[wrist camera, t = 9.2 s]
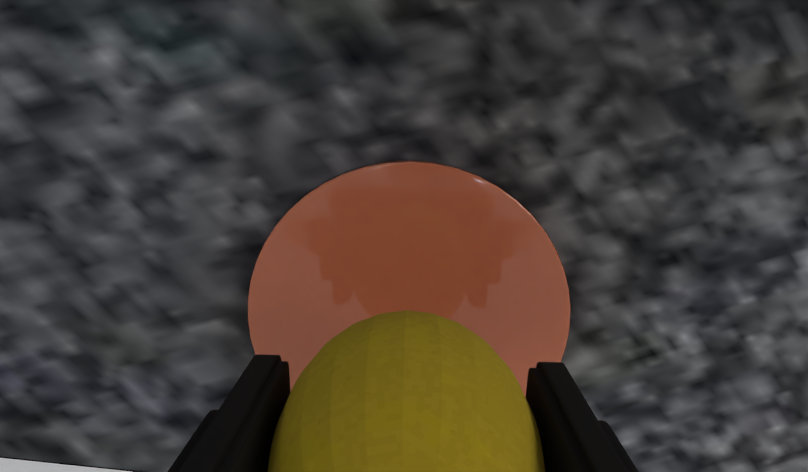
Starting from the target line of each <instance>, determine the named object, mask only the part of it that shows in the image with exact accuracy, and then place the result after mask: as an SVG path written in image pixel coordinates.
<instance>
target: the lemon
mask: <svg viewBox="0 0 808 472" xmlns="http://www.w3.org/2000/svg"><path fill="white" fill-rule="evenodd" d="M268 472H546V470H545V464H544V457H543V451H542V444H541V439H540V435H539V430H538V427H537V423H536V420H535V417H534V415H533V413H532V410H531V408H530V406H529V404H528V402H527V400H526V397H525V395H524V393H523V391H522V389H521V387H520V385H519V383H518V381H517V379H516V377H515V376H514V374H513V372H512V371H511V369H510V368H509V367H508V366H507V364H506V363H505V362H504V361H503V360H502V359H501V357H500V356H499V355H498V354H497V353H496V352H495V351H494V350H493V348H492V347H491V346H490V345H489V344H488V343H487V342H486V341H485V340H484V339H483V338H481V337H480V336H478V335H477V334H475V333H474V332H472V331H471V330H469V329H467V328H466V327H464V326H463V325H461V324H460V323H458V322H455V321H453V320H450V319H447V318H444V317H442V316H439V315H436V314H433V313H427V312H418V311H409V310H404V311H396V312H388V313H381V314H378V315H375V316H373V317H370V318H367V319H365V320H362V321H359V322H357V323H354V324H352V325H351V326H349V327H348V328H346V329H345V330H344V331H342V332H341V333H339V334H338V335H336V336H335V337H334V338H332V339H331V340H330V341H328V342H327V343H326V344H325V345H324V346H323V347H322V348H321V350H320V351H319V352H318V353H317V354H316V356H315V357H314V358H313V359H312V360H311V362H310V363H309V364H308V365H307V366H306V368H305V369H304V370H303V371H302V373H301V374H300V376H299V377H298V379H297V380H296V382H295V384H294V386H293V388H292V390H291V393H290V395H289V397H288V399H287V402H286V404H285V406H284V408H283V411H282V413H281V415H280V417H279V420H278V423H277V426H276V429H275V432H274V436H273V440H272V444H271V451H270V457H269V464H268Z"/></svg>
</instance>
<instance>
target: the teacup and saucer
mask: <svg viewBox="0 0 808 472" xmlns="http://www.w3.org/2000/svg"><path fill="white" fill-rule="evenodd" d="M0 472H131V471H122V470H112V469H103V468H93V467H84V466H74V465H64V464H55V463H45V462H36V461H26V460H17V459H7V458H0Z"/></svg>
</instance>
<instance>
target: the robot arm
mask: <svg viewBox="0 0 808 472" xmlns="http://www.w3.org/2000/svg"><path fill="white" fill-rule="evenodd" d="M290 393H291V391H290V373H289V363H288V362H287V361H282V359H281V356H280V355H261V354H257V355H255V356H254V357H253V359H252V360H251V362H250V363H249V365H248V366H247V368H246V369H245V371H244V372H243V374H242V375H241V377H240V378H239V380H238V381H237V383H236V384H235V386H234V388H233V389H232V391H231V392H230V394H229V395H228V397H227V398H226V400H225V401H224V403H223V404H222V406H221V407H220V409H219V410H212V411H210V412H209V413H208V414H207V415H206V417H205V418H204V420H203V421H202V422H201V424H200V425H199V427H198V428H197V430H196V431H195V433H194V434H193V436H192V437H191V439H190V440H189V441H188V443H187V444H186V446H185V447H184V449H183V450H182V452H181V453H180V455H179V456H178V457H177V459H176V460H175V462H174V463H173V465H172V466H171V468H170V469H169V471H168V472H268V464H269V457H270V451H271V444H272V440H273V436H274V432H275V429H276V426H277V423H278V420H279V417H280V415H281V413H282V411H283V408H284V406H285V404H286V402H287V399H288V397H289V395H290ZM526 400H527V402H528V404H529V406H530V408H531V410H532V413H533V415H534V417H535V420H536V423H537V427H538V430H539V435H540V439H541V444H542V451H543V457H544V464H545V470H546V472H638V470H637V469H636V467H635V466H634V464H633V462H632V461H631V459H630V458H629V456H628V454H627V453H626V451H625V450H624V448H623V446H622V445H621V443H620V442H619V440H618V438H617V437H616V435H615V434H614V432H613V430H612V429H611V427H610V426H609V425H608V424H607V422H605V421H598V420H597V418H596V417H595V415H594V413H593V412H592V410H591V408H590V407H589V405H588V403H587V402H586V400H585V398H584V397H583V395H582V393H581V392H580V390H579V388H578V387H577V385H576V383H575V382H574V380H573V378H572V377H571V375H570V373H569V372H568V370H567V368H566V367H565V365H564V364H563V363H562V362H538V363H537V365H536V368H529V371H528V378H527V388H526Z"/></svg>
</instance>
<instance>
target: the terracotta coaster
mask: <svg viewBox="0 0 808 472" xmlns="http://www.w3.org/2000/svg"><path fill="white" fill-rule="evenodd" d="M570 309H571V308H570V297H569V288H568V283H567V279H566V275H565V271H564V268H563V265H562V263H561V260H560V258H559V255H558V253H557V250H556V248H555V247H554V245H553V243H552V242H551V240H550V238H549V236H548V235H547V233H546V231H545V230H544V229H543V228H542V226H541V225H540V224H539V223H538V221H537V220H536V219H535V218H534V216H533V215H532V214H531V213H530V212H529V211H528V210H527V209H526V208H525V207H524V206H523V205H521V204H520V203H519V202H518V201H517V200H516V199H515V198H514V197H512V196H511V195H510V194H508V193H507V192H505V191H504V190H503V189H501V188H500V187H498V186H497V185H496V184H494V183H492V182H490V181H488V180H486V179H484V178H482V177H480V176H478V175H477V174H474V173H471V172H468V171H466V170H463V169H460V168H457V167H454V166H450V165H445V164H441V163H436V162H428V161H416V160H403V161H387V162H381V163H376V164H370V165H366V166H363V167H360V168H357V169H353V170H350V171H347V172H345V173H343V174H341V175H338V176H336V177H334V178H332V179H330V180H328V181H326V182H325V183H323V184H321V185H320V186H318V187H317V188H315V189H314V190H312V191H311V192H309V193H308V194H307V195H305V196H304V197H303V198H302V199H301V200H300V201H298V202H297V203H296V204H295V205H294V206H293V207H292V208H291V209H289V210H288V212H287V213H286V214H285V215H284V216H283V217H282V219H281V220H280V221H279V222H278V223H277V224H276V226H275V227H274V229H273V230H272V232H271V233H270V235H269V237H268V238H267V240H266V241H265V243H264V245H263V247H262V249H261V252H260V254H259V256H258V258H257V260H256V263H255V267H254V270H253V274H252V277H251V281H250V288H249V295H248V323H249V330H250V337H251V341H252V345H253V348H254V352H255V355H257V354H261V355H280V356H281V359H282V361H287V362H288V363H289V373H290V391H291V390H292V388H293V386H294V384H295V382H296V380H297V379H298V377H299V376H300V374H301V373H302V371H303V370H304V369H305V368H306V366H307V365H308V364H309V363H310V362H311V360H312V359H313V358H314V357H315V356H316V354H317V353H318V352H319V351H320V350H321V348H322V347H323V346H324V345H325V344H326V343H327V342H328V341H330V340H331V339H332V338H334V337H335V336H336V335H338V334H339V333H341V332H342V331H344V330H345V329H346V328H348V327H349V326H351V325H352V324H354V323H357V322H359V321H362V320H365V319H367V318H370V317H373V316H375V315H378V314H381V313H388V312H396V311H404V310H409V311H418V312H427V313H433V314H436V315H439V316H442V317H444V318H447V319H450V320H453V321H455V322H458V323H460V324H461V325H463V326H464V327H466V328H467V329H469V330H471V331H472V332H474V333H475V334H477V335H478V336H480V337H481V338H483V339H484V340H485V341H486V342H487V343H488V344H489V345H490V346H491V347H492V348H493V350H494V351H495V352H496V353H497V354H498V355H499V356H500V357H501V359H502V360H503V361H504V362H505V363H506V364H507V366H508V367H509V368H510V369H511V371H512V372H513V374H514V376H515V377H516V379H517V381H518V383H519V385H520V387H521V389H522V391H523V393H524V395H525V397H526V388H527V378H528V371H529V368H536V365H537V363H538V362H561V359H562V357H563V354H564V351H565V348H566V343H567V338H568V333H569V328H570Z"/></svg>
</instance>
